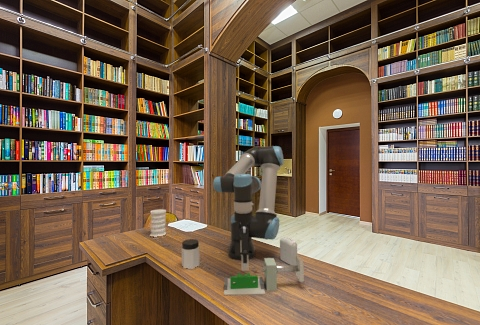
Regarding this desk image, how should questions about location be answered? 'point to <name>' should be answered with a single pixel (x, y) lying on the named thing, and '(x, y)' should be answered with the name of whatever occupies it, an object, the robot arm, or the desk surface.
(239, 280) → the pipe clamp
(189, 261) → the jar
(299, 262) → the shaft
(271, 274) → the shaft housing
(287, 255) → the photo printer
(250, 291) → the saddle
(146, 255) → the desk surface
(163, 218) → the decorative container
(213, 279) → the desk surface
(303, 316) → the desk surface
